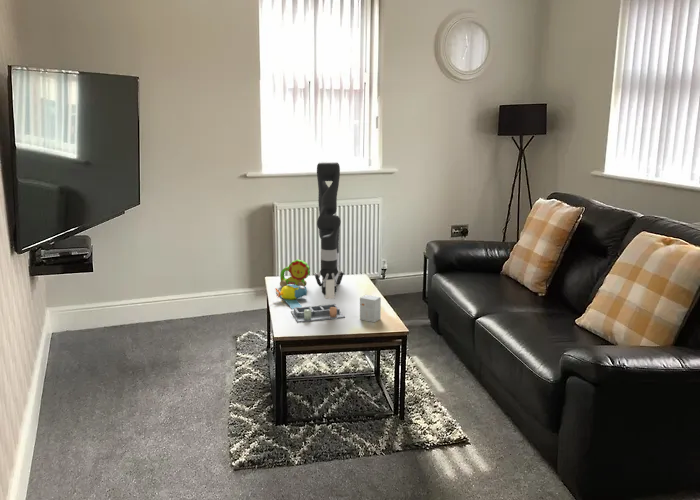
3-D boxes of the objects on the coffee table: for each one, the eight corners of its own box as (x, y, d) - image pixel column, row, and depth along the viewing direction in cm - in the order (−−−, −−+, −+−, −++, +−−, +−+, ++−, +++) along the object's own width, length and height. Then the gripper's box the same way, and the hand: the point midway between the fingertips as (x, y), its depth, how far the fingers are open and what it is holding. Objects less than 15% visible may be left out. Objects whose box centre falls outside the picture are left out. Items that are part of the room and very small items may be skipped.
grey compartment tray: (291, 312, 292) (290, 302, 291) (336, 307, 299) (336, 298, 298) (297, 322, 279) (297, 312, 278) (344, 317, 285) (344, 308, 284)
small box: (380, 319, 284) (381, 297, 282) (374, 322, 279) (375, 300, 277) (365, 315, 288) (365, 294, 286) (359, 319, 283) (359, 297, 281)
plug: (323, 296, 292) (323, 277, 290) (332, 295, 293) (332, 277, 291) (326, 299, 288) (326, 280, 286) (334, 298, 289) (334, 279, 287)
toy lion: (279, 287, 330) (278, 259, 327) (282, 284, 336) (282, 257, 332) (307, 289, 327) (307, 261, 323) (311, 286, 332) (310, 259, 328)
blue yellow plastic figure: (269, 278, 318) (297, 275, 324) (269, 294, 320) (297, 291, 326) (285, 293, 293) (315, 290, 299) (284, 311, 295) (315, 308, 301)
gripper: (341, 255, 292) (341, 290, 296) (311, 257, 287) (312, 292, 291) (346, 259, 285) (346, 294, 289) (315, 261, 280) (316, 297, 284)
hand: (329, 293), depth 290 cm, fingers closed on plug, 4 cm apart
